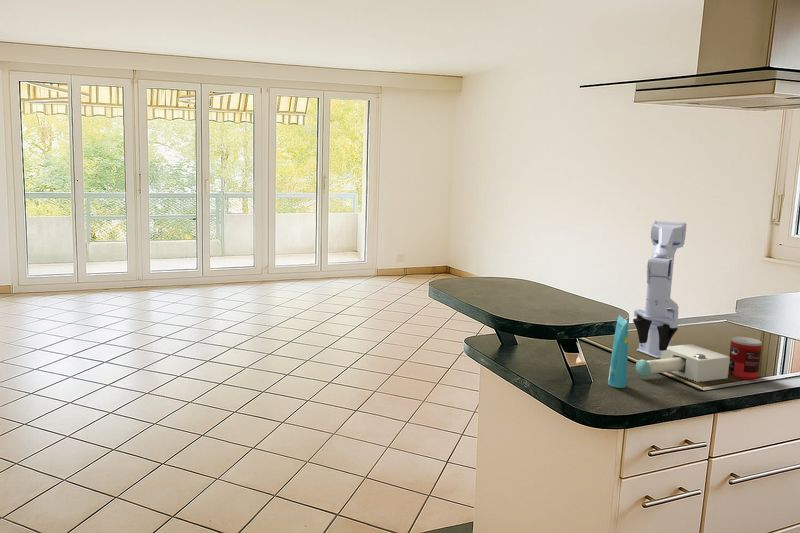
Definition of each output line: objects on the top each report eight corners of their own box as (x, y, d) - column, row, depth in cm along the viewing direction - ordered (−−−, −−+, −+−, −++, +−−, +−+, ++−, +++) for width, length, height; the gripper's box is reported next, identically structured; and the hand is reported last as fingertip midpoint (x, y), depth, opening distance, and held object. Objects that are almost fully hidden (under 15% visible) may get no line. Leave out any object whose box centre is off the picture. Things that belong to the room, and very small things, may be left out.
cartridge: (635, 373, 179) (636, 357, 178) (679, 368, 185) (680, 352, 185) (647, 378, 175) (648, 362, 174) (692, 373, 181) (693, 357, 180)
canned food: (730, 370, 188) (734, 335, 186) (760, 376, 183) (764, 340, 181) (724, 376, 182) (728, 339, 180) (755, 382, 177) (759, 345, 175)
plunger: (692, 367, 179) (694, 354, 178) (699, 366, 180) (700, 353, 179) (699, 370, 177) (701, 356, 176) (705, 369, 178) (707, 356, 177)
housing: (659, 367, 189) (661, 347, 188) (689, 363, 193) (691, 343, 192) (696, 382, 176) (698, 360, 175) (727, 378, 180) (729, 356, 179)
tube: (630, 390, 168) (636, 321, 165) (613, 390, 168) (619, 321, 165) (619, 380, 175) (625, 314, 172) (603, 380, 175) (608, 314, 172)
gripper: (627, 295, 180) (623, 340, 182) (665, 306, 167) (661, 354, 169) (646, 294, 182) (642, 338, 185) (685, 304, 169) (680, 352, 171)
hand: (652, 346), depth 177 cm, fingers open, 7 cm apart
